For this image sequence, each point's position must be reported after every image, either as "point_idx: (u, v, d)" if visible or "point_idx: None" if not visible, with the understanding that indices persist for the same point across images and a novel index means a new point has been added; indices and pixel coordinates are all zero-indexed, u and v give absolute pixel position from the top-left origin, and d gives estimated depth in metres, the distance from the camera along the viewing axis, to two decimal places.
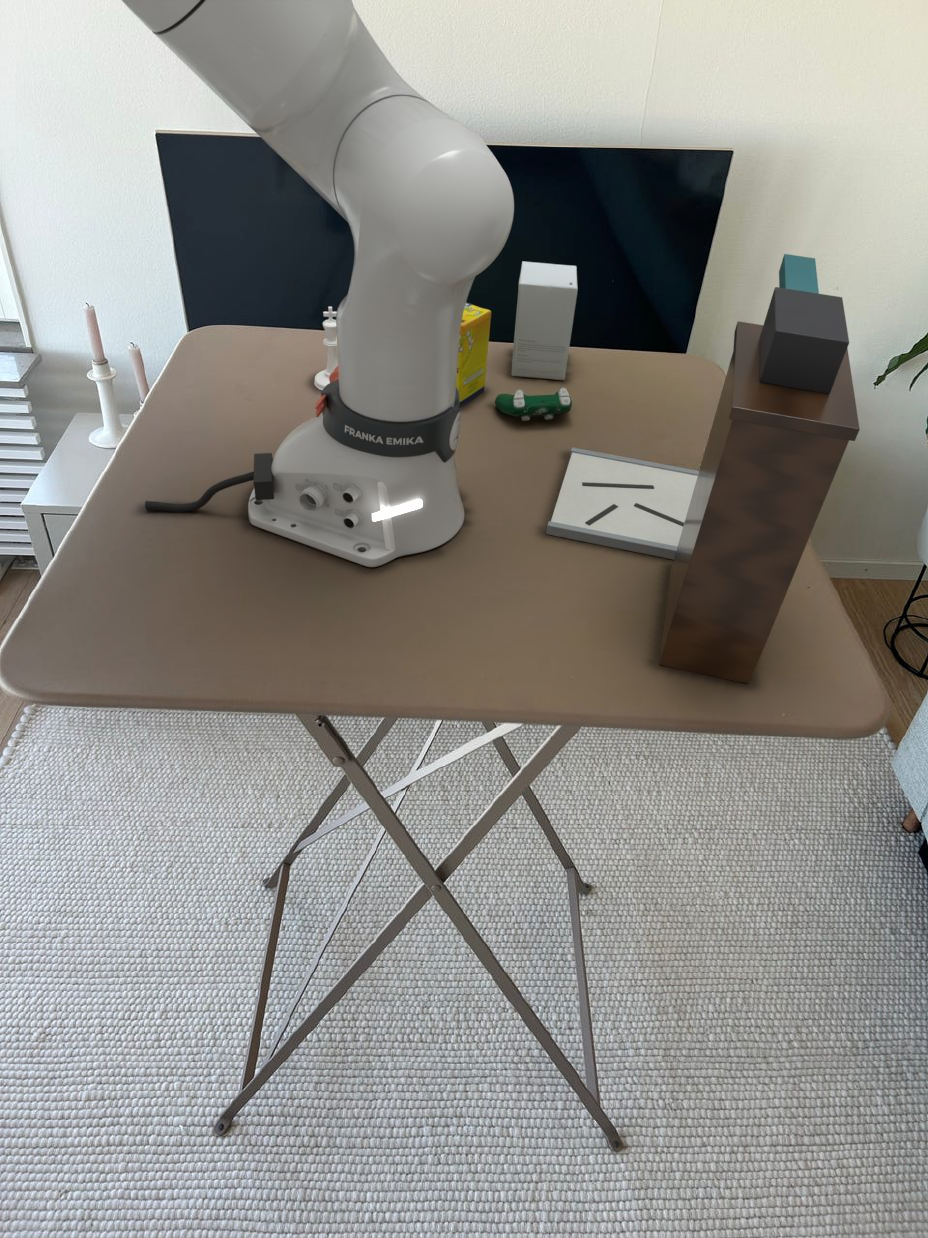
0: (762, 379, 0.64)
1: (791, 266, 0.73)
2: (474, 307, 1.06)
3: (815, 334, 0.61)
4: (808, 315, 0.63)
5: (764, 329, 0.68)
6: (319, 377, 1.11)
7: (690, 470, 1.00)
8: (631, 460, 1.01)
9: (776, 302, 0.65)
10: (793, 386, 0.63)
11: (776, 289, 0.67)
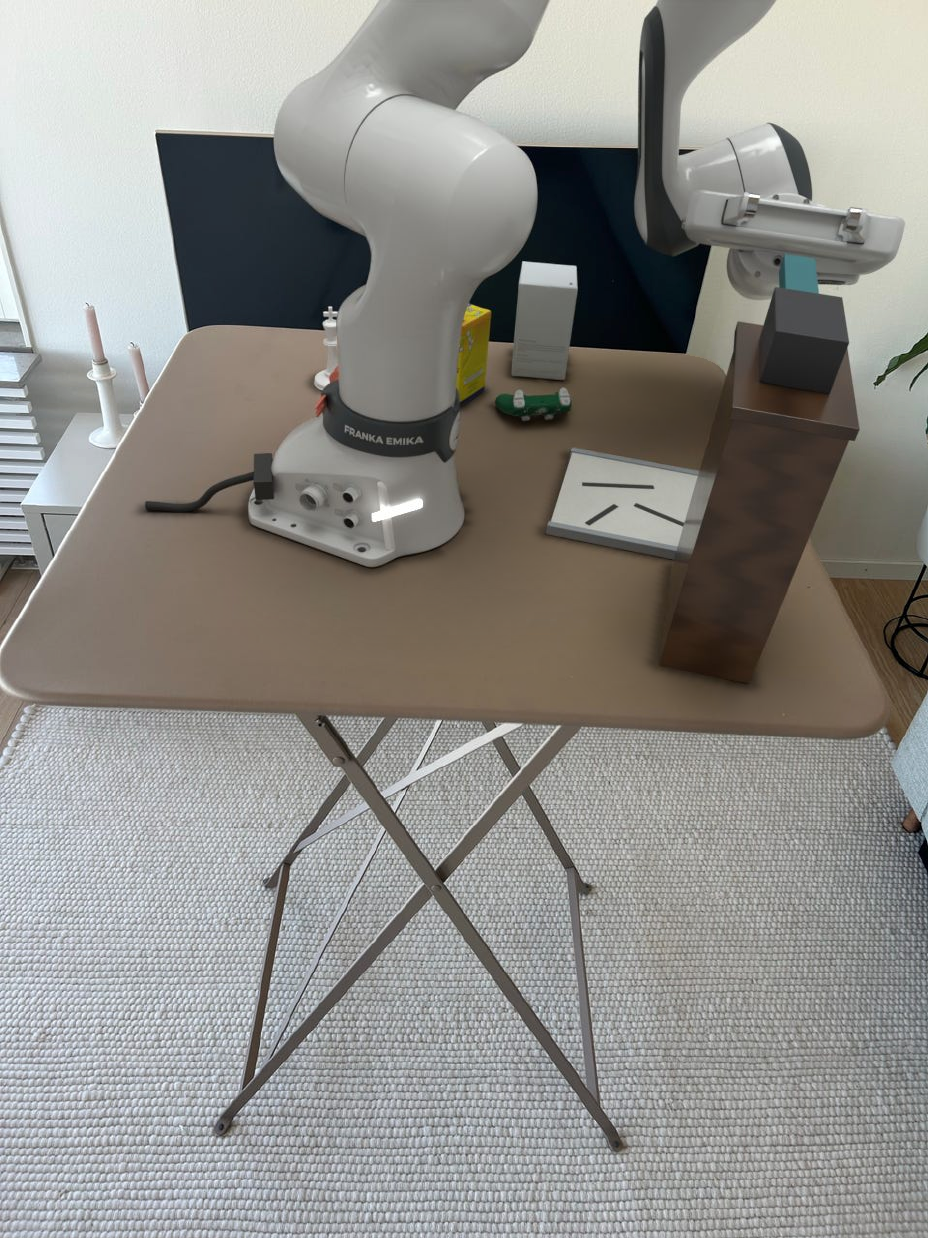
0: (762, 379, 0.64)
1: (791, 266, 0.73)
2: (474, 307, 1.06)
3: (815, 334, 0.61)
4: (808, 315, 0.63)
5: (764, 329, 0.68)
6: (319, 377, 1.11)
7: (690, 470, 1.00)
8: (631, 460, 1.01)
9: (776, 302, 0.65)
10: (793, 386, 0.63)
11: (776, 289, 0.67)
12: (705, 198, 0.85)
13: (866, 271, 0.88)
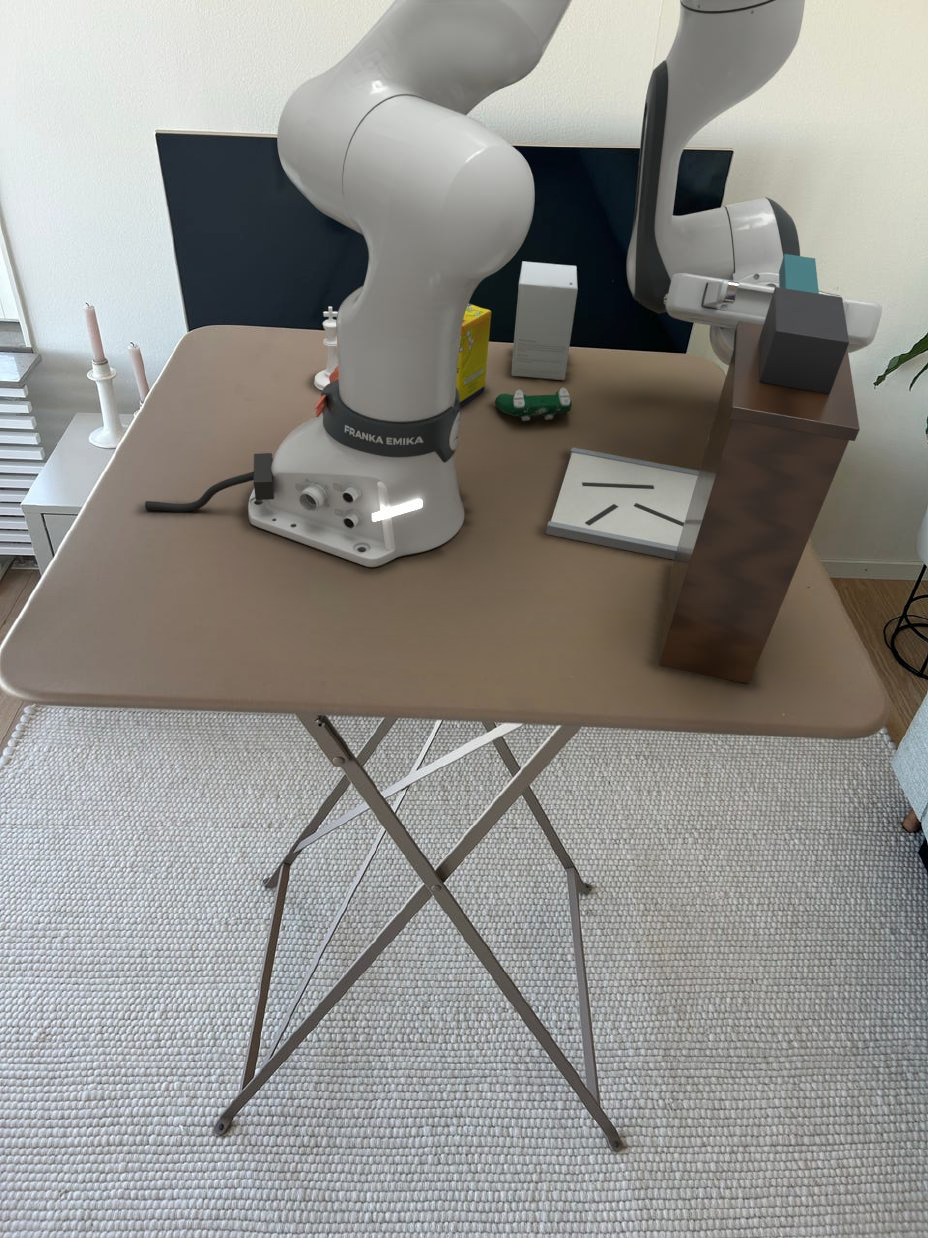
0: (762, 379, 0.64)
1: (791, 266, 0.73)
2: (474, 307, 1.06)
3: (815, 334, 0.61)
4: (808, 315, 0.63)
5: (764, 329, 0.68)
6: (319, 377, 1.11)
7: (690, 470, 1.00)
8: (631, 460, 1.01)
9: (776, 302, 0.65)
10: (793, 386, 0.63)
11: (776, 289, 0.67)
12: (686, 281, 0.86)
13: None
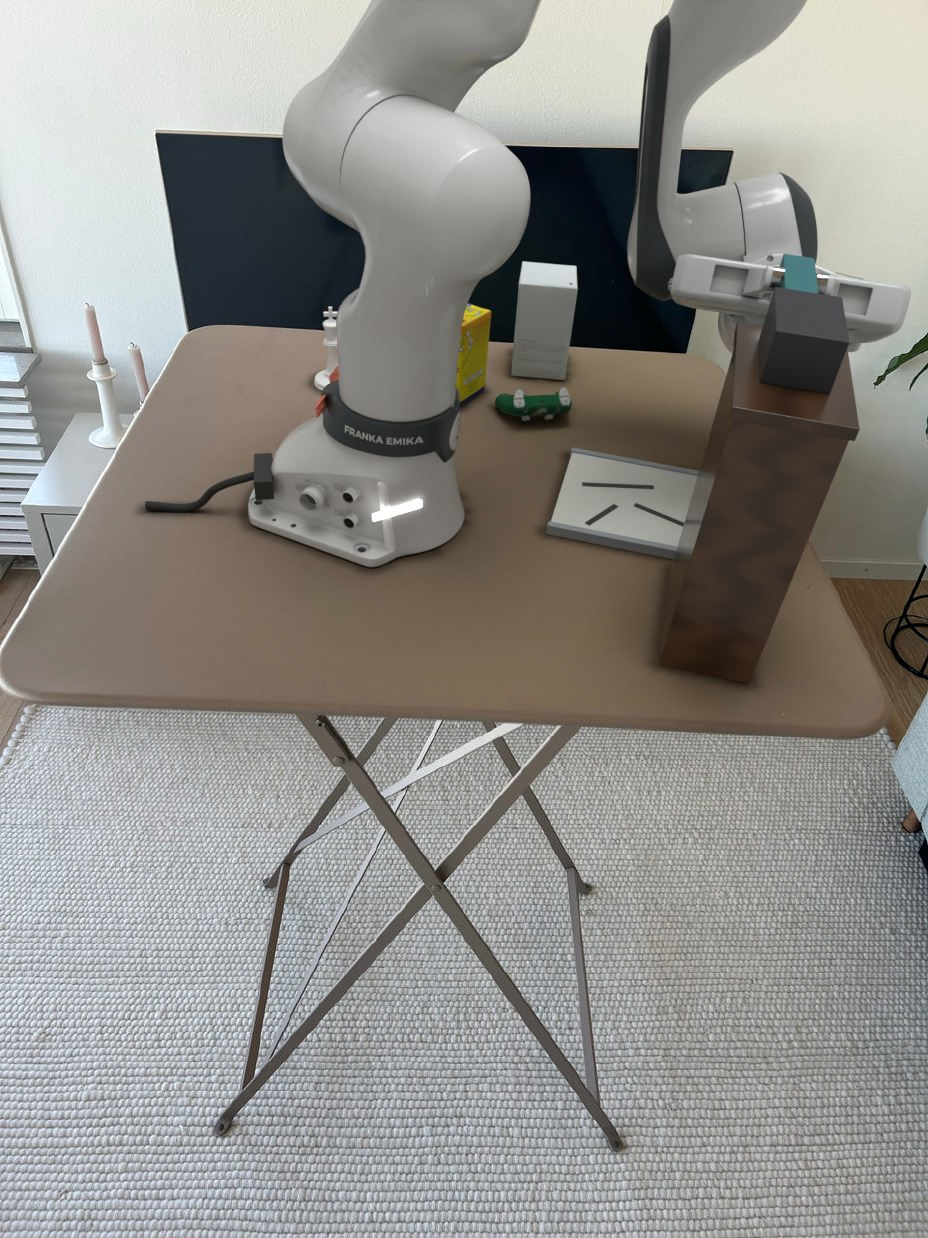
0: (762, 379, 0.64)
1: (790, 266, 0.73)
2: (474, 307, 1.06)
3: (816, 334, 0.61)
4: (808, 315, 0.63)
5: (764, 329, 0.68)
6: (319, 377, 1.11)
7: (690, 470, 1.00)
8: (631, 460, 1.01)
9: (776, 302, 0.65)
10: (793, 386, 0.63)
11: (776, 289, 0.66)
12: (692, 263, 0.78)
13: (868, 341, 0.81)
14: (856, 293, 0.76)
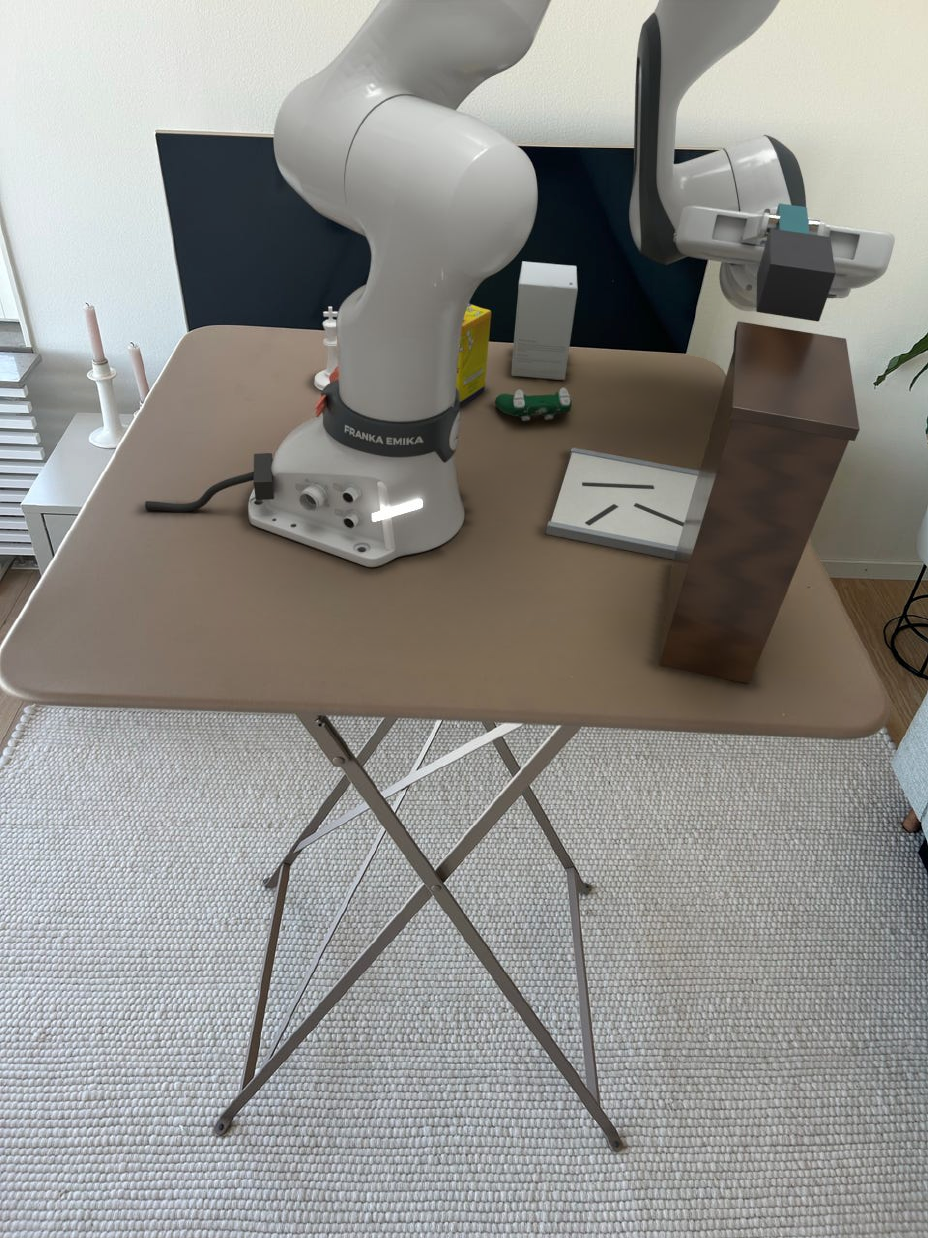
0: (758, 309, 0.71)
1: (785, 213, 0.81)
2: (474, 307, 1.06)
3: (806, 266, 0.69)
4: (799, 251, 0.71)
5: (760, 267, 0.75)
6: (319, 377, 1.11)
7: (690, 470, 1.00)
8: (631, 460, 1.01)
9: (771, 240, 0.72)
10: (786, 315, 0.71)
11: (771, 230, 0.74)
12: (696, 213, 0.85)
13: (857, 285, 0.89)
14: (845, 240, 0.84)
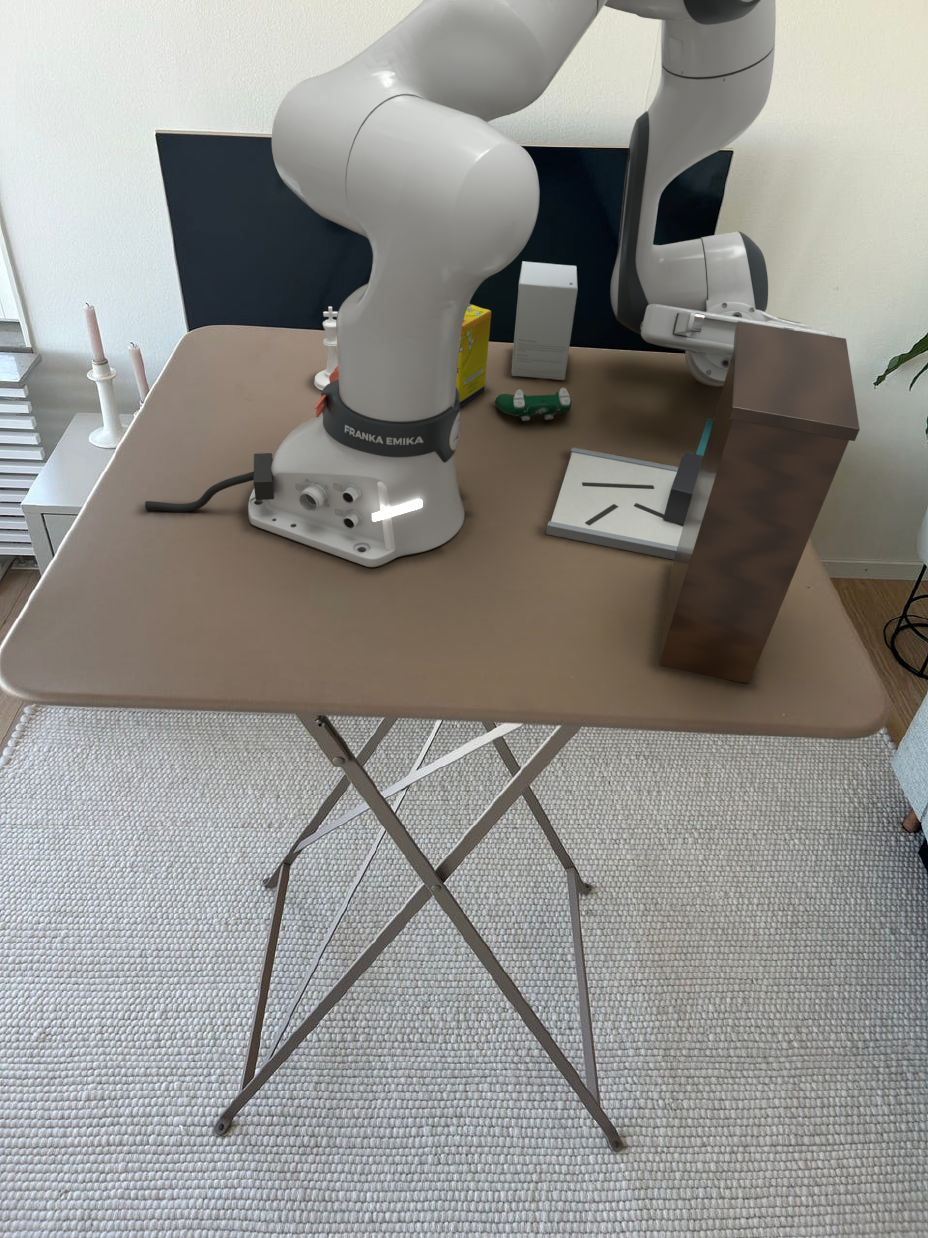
0: (664, 518, 0.93)
1: (708, 429, 1.02)
2: (474, 307, 1.06)
3: None
4: None
5: None
6: (319, 377, 1.11)
7: None
8: (631, 460, 1.01)
9: (680, 465, 0.94)
10: None
11: (684, 453, 0.96)
12: (658, 312, 0.95)
13: None
14: None
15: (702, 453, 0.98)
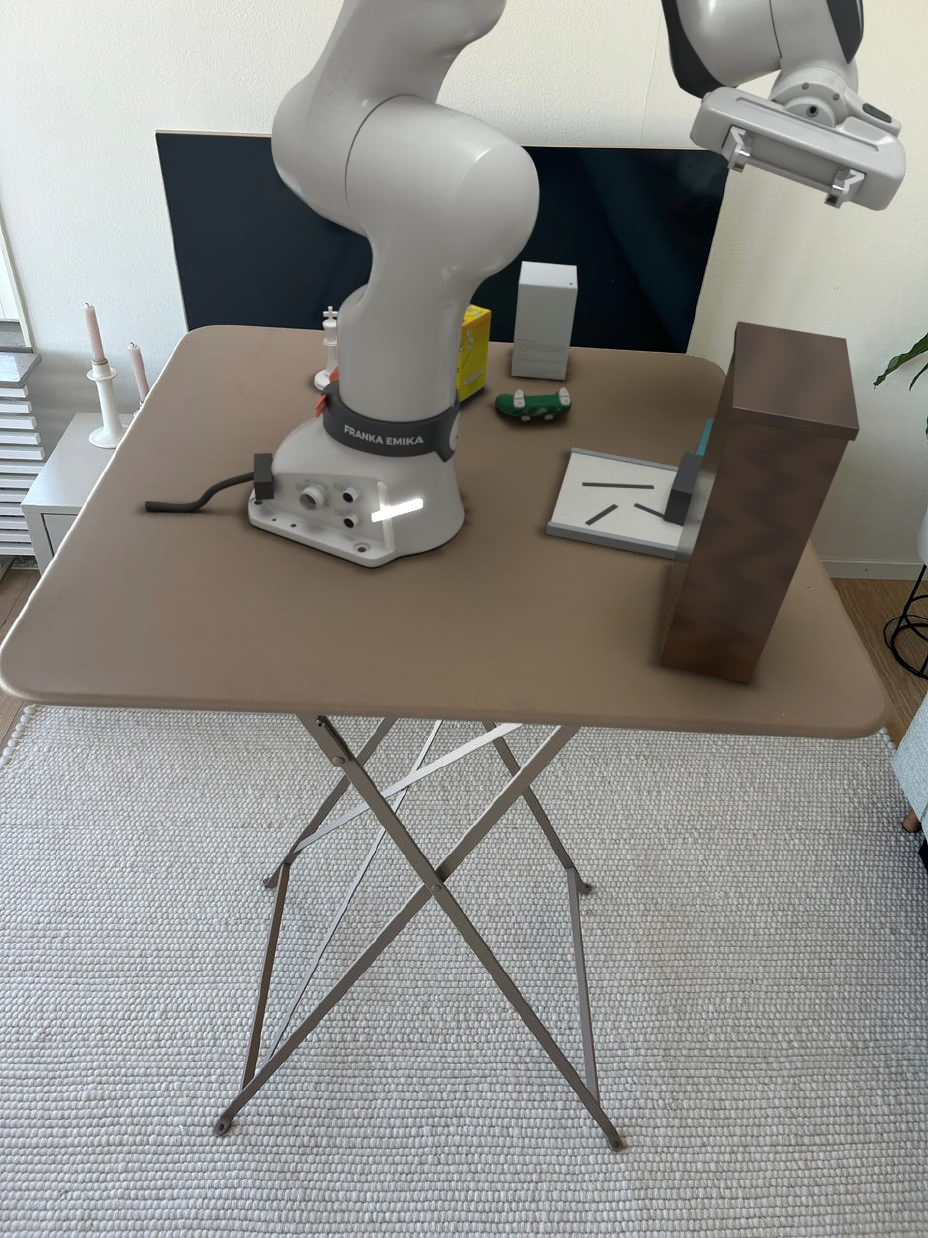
0: (664, 518, 0.93)
1: (708, 429, 1.02)
2: (474, 307, 1.06)
3: None
4: None
5: None
6: (319, 377, 1.11)
7: None
8: (631, 460, 1.01)
9: (680, 465, 0.94)
10: None
11: (684, 453, 0.96)
12: (710, 119, 0.83)
13: None
14: None
15: (702, 453, 0.98)
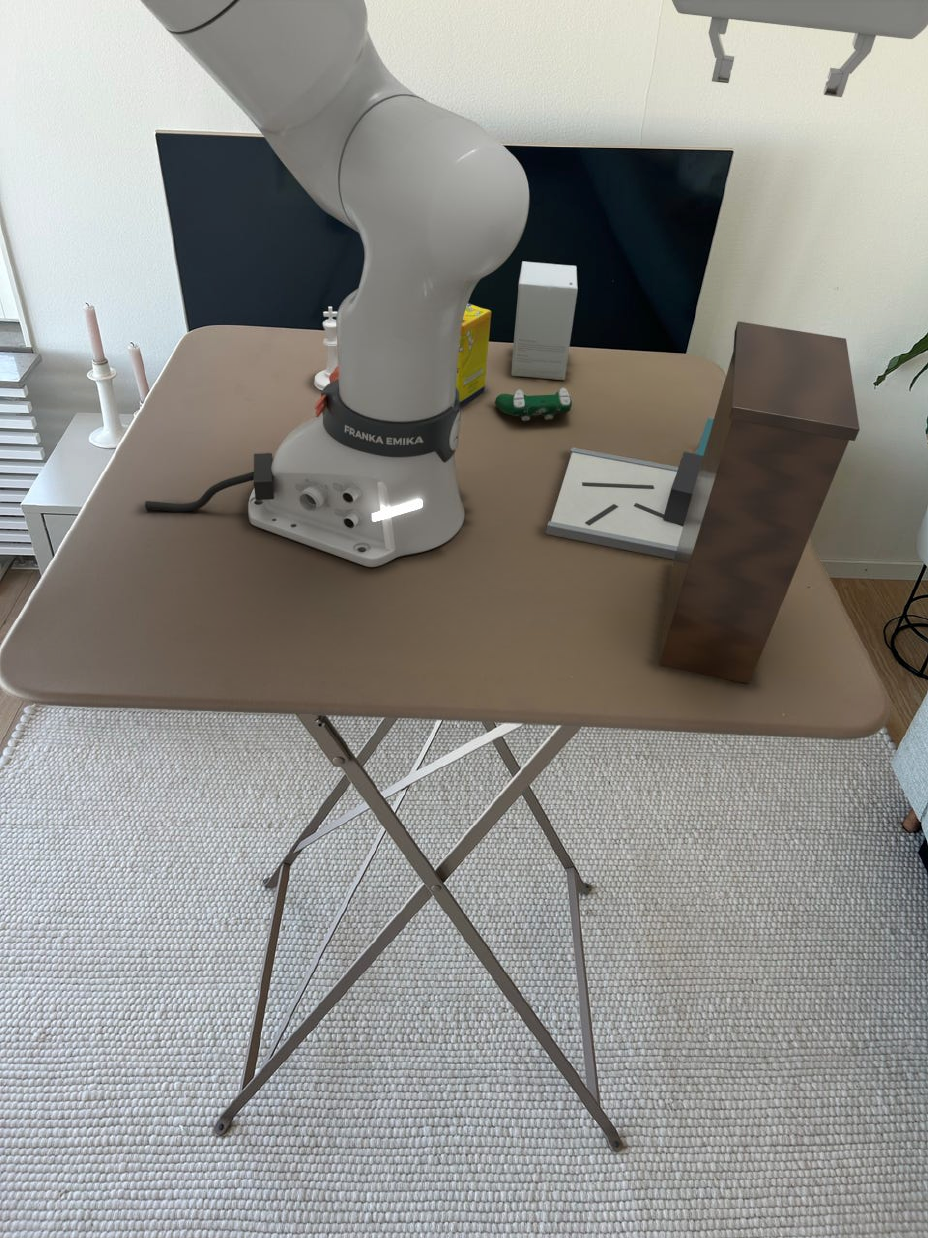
0: (664, 518, 0.93)
1: (708, 429, 1.02)
2: (474, 307, 1.06)
3: None
4: None
5: None
6: (319, 377, 1.11)
7: None
8: (631, 460, 1.01)
9: (680, 465, 0.94)
10: None
11: (684, 453, 0.96)
12: None
13: None
14: None
15: (702, 453, 0.98)
